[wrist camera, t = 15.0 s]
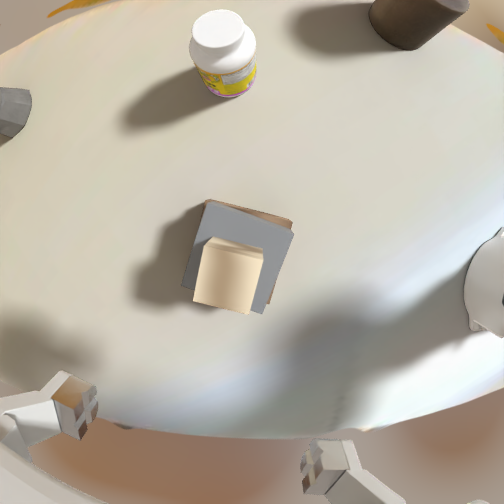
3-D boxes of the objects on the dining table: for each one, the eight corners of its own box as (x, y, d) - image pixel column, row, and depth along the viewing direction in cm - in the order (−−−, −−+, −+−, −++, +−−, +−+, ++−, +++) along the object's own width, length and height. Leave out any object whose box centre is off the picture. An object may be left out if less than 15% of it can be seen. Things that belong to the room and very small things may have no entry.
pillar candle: (402, 60, 30) (458, 17, 16) (355, 13, 29) (392, -45, 14) (433, 38, 29) (484, 1, 14) (390, -5, 28) (429, -53, 13)
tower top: (289, 228, 32) (294, 234, 28) (261, 300, 34) (262, 314, 30) (213, 201, 32) (207, 202, 28) (189, 274, 34) (180, 285, 30)
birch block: (262, 248, 29) (263, 260, 24) (250, 294, 30) (248, 314, 25) (213, 236, 29) (203, 245, 24) (203, 283, 30) (192, 300, 25)
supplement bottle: (197, 65, 32) (172, 16, 19) (245, 48, 31) (239, -7, 18) (214, 106, 33) (193, 67, 20) (264, 88, 32) (267, 42, 20)
